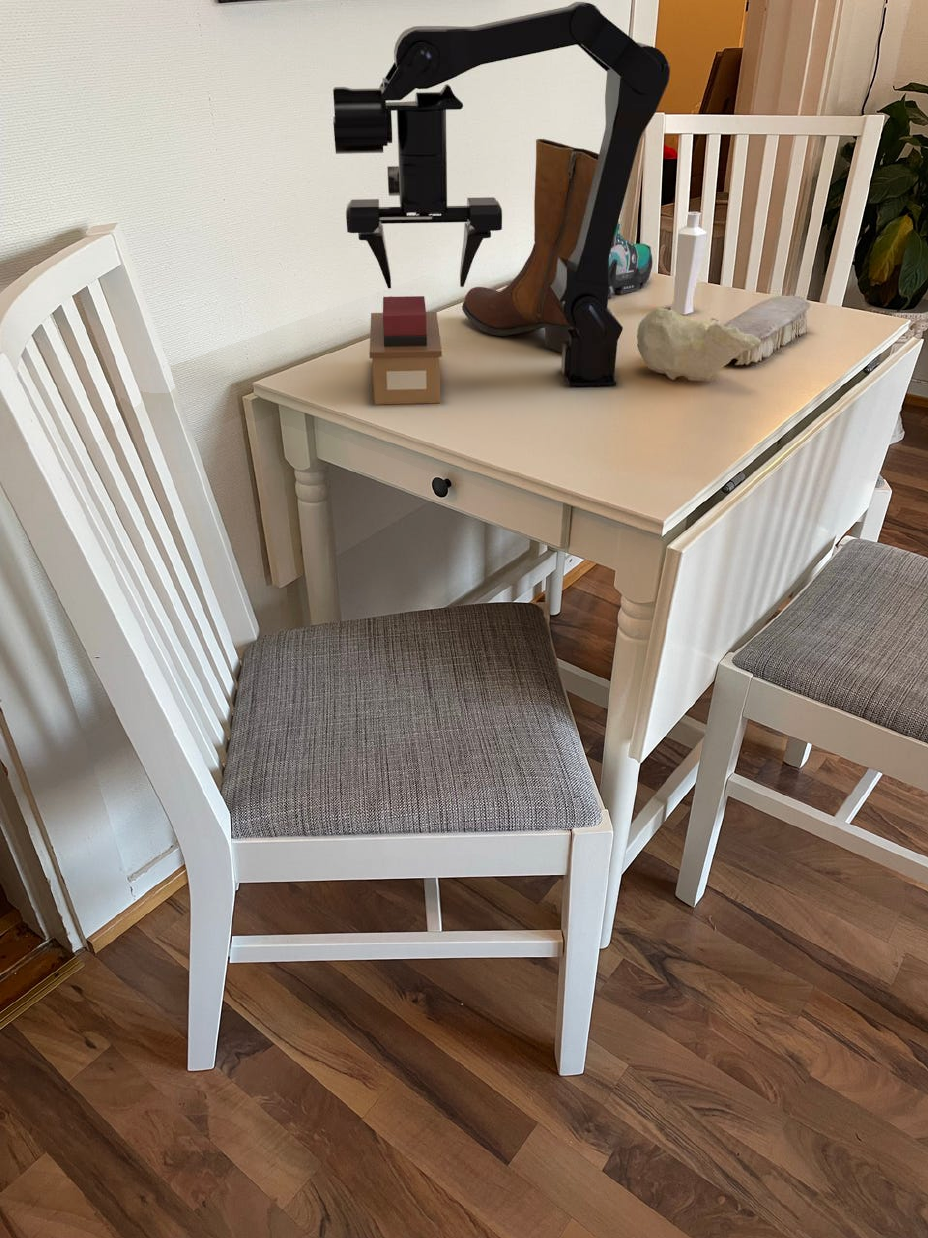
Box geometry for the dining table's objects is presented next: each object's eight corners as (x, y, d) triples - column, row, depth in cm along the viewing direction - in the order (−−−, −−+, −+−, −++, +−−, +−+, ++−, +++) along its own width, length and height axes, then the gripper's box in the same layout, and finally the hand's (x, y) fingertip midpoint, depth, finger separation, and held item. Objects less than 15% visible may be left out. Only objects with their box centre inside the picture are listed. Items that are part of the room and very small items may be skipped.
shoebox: (437, 360, 137) (436, 311, 133) (442, 404, 124) (441, 350, 120) (373, 362, 136) (371, 312, 132) (372, 405, 123) (369, 352, 119)
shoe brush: (768, 319, 153) (773, 287, 150) (814, 328, 149) (821, 296, 146) (703, 361, 137) (708, 327, 134) (752, 373, 133) (759, 337, 130)
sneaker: (667, 281, 171) (678, 190, 162) (580, 309, 157) (587, 211, 148) (625, 270, 176) (634, 182, 167) (538, 297, 162) (543, 202, 154)
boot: (452, 321, 151) (451, 132, 136) (496, 310, 156) (500, 126, 141) (564, 366, 135) (578, 156, 120) (610, 352, 140) (628, 149, 125)
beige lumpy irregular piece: (616, 374, 138) (632, 336, 123) (637, 329, 139) (655, 285, 124) (715, 417, 137) (743, 383, 122) (735, 371, 138) (766, 332, 123)
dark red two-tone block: (424, 316, 131) (423, 288, 129) (427, 345, 121) (426, 315, 119) (384, 317, 131) (383, 288, 129) (384, 346, 121) (382, 316, 119)
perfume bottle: (660, 308, 157) (672, 211, 149) (682, 305, 159) (695, 208, 150) (677, 316, 154) (689, 217, 145) (699, 313, 155) (713, 214, 147)
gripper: (495, 140, 120) (493, 268, 129) (345, 141, 119) (354, 271, 128) (503, 155, 111) (501, 292, 120) (341, 157, 110) (351, 295, 119)
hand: (425, 286), depth 122 cm, fingers open, 9 cm apart
